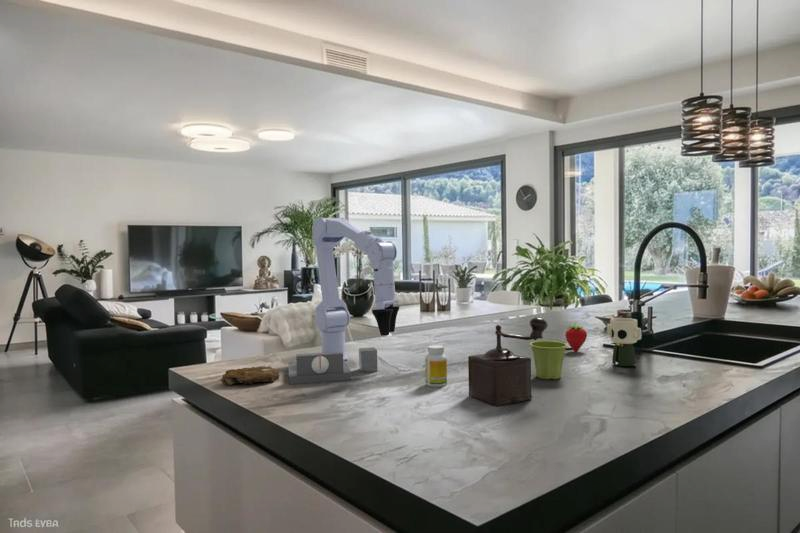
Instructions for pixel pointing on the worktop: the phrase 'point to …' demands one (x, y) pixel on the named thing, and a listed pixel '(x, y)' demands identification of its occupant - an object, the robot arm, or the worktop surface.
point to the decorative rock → (250, 375)
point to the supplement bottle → (436, 366)
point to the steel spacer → (368, 359)
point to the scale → (318, 368)
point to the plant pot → (548, 358)
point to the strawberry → (576, 337)
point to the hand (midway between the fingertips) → (387, 333)
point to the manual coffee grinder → (503, 371)
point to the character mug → (623, 340)
